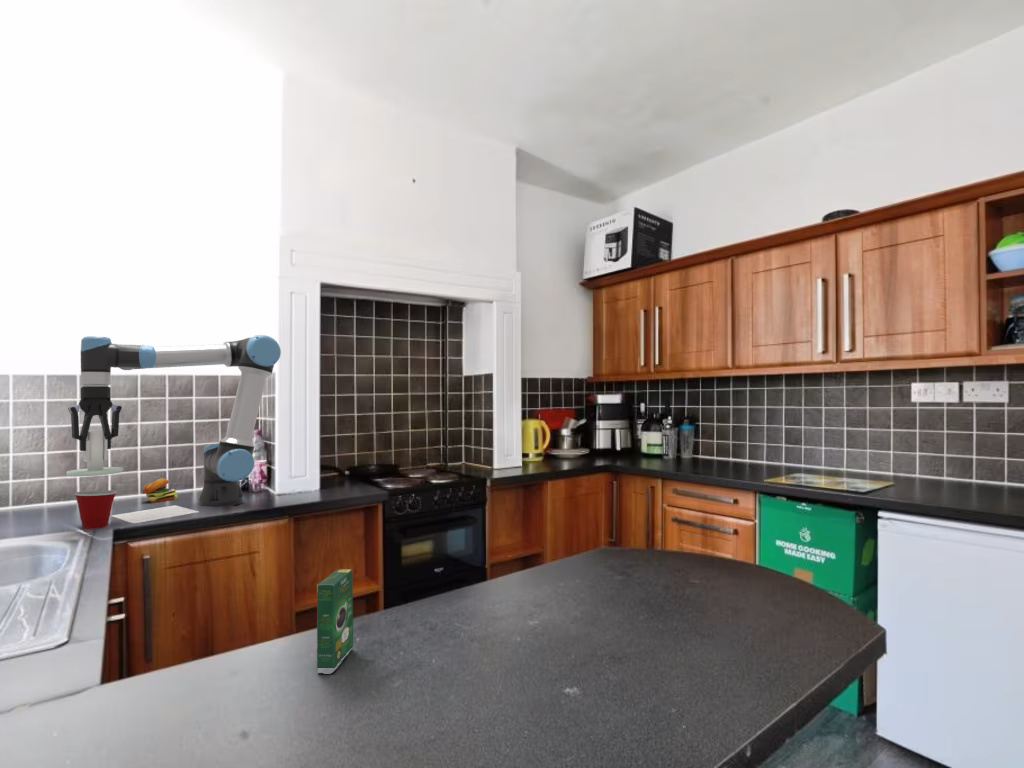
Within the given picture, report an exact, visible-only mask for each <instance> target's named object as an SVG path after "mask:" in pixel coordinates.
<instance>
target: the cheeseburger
mask: <svg viewBox="0 0 1024 768" xmlns="http://www.w3.org/2000/svg"><path fill="white" fill-rule="evenodd" d="M169 483H170V480H168V479H167V478H163V477H162V478H159V479H155V480H154V481H152V482H149V483H146V484H145V485H144V486H143V489H142V494H143V495H145V496H146V497H147V499H148V502H149V503H151V504H158V503H165V502H168V501H176V500H177V499H178V494H177V491H176V490H177V489H174V487H168V488H167V484H169Z"/></svg>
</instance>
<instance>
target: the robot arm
mask: <svg viewBox="0 0 1024 768" xmlns="http://www.w3.org/2000/svg"><path fill="white" fill-rule="evenodd" d="M281 353H282V351H281V346H280V344H279V343H278V342H277V340H276V339H274V338H273V337H272V336H269V335H264V334H258V335H254V336H251V337H246V338H244V339H243V338H242V339H240V340H235V341H234V340H233V341H225V342H223V343H222V344H201V345H199V344H198V345H174V346H172V345H171V346H170V345H169V346H152V345H145V344H141V345H140V344H138V345H137V344H117V343H112V339H111V338H110V337H108V336H97V335H96V336H95V335H94V336H90V335H89V336H85V337H83V338H81V343H80V385H81V387H80V400H79V402H78V404H76V405H75V406H74V405H73V406H69V407H68V409H67V410H68V412H69V414H70V423H71V438H72V439H73V440H74V439H75V440H78V441H79V451H80V452H83V462H85V463H87V462H89V454H90V441H89V440H87V435H88V432H90V427H91V424H92V423H91V422H92V419H93V417H95V416H98V418H99V420H100V424H101V429H102V431H104V461H108V450H111V448H112V439H113V438H116V437H118V436H119V430H120V429H119V428H120V413H121V411H122V409H123V407H122V406H121V405H116V404H114V403H113V402H112V400H111V398H112V393H111V392H112V391H111V389H112V387H110V385H111V384H112V383H111V381H112V379H111V378H112V376H111V373H112V372H111V371H112V369H111V368H119V369H120V370H124V371H132V370H143V369H160V368H161V369H162V368H181V367H199V366H217V365H218V366H219V365H225V367H227V368H228V367H229V368H230V367H231V368H232V367H237V368H238V369H239V371H240V372H241V373H240V377H239V383H238V386H237V390H236V394H235V398H234V401H233V402H234V403H233V406H232V410H231V414H230V418H229V421H228V427H227V430H226V434H225V437H223V438H222V439H220V440H219V443H210V444H207V445H205V446H204V448H203V453H202V455H203V487H202V490H201V493H200V496H199V498H198V505H199V506H201V507H219V506H229V505H230V506H238V505H241V504H243V503H244V501H245V499H244V493H243V491H242V488H241V486H240V483H239V482H240V481H242V480H245V479H246V478H248V477H249V476H250V475H251V474H252V472H253V470H254V468H255V459H254V456H253V455H254V449H255V445H254V443H253V442H252V439H253V434H254V431H255V427H256V423H257V418H258V416H259V415H258V414H259V411H260V407H261V406H260V405H261V402H262V397H263V393H264V389H265V385H266V380H267V378H268V377H270V376H271V375H273V371H274V367H275V364H277V362H278V361H279V359H280V358H281ZM80 409H81V411H83V413H84V416H83V422H82V425H81V430H80V419H79V412H80ZM110 409H111V412H112V414H111V426H110V424H109V421H108V413H107V412H108V411H110ZM110 427H111V429H110Z"/></svg>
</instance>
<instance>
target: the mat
mask: <svg viewBox="0 0 1024 768" xmlns="http://www.w3.org/2000/svg"><path fill="white" fill-rule="evenodd" d="M196 513H200V511H198V510H194V509H190V508H187V507H182V506H179V505H176V504H175V505H168V506H162V507H156V508H151V509H145V510H144V509H143V510H138V511H132V512H125V513H119V514H113V515H111V517H113V518H115V519H117V520H118V519H119V520H122V521H125V522H126V523H130V524H138V523H144V522H151V521H155V520H162V519H168V518H173V517H179V516H185V515H191V514H196Z"/></svg>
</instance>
